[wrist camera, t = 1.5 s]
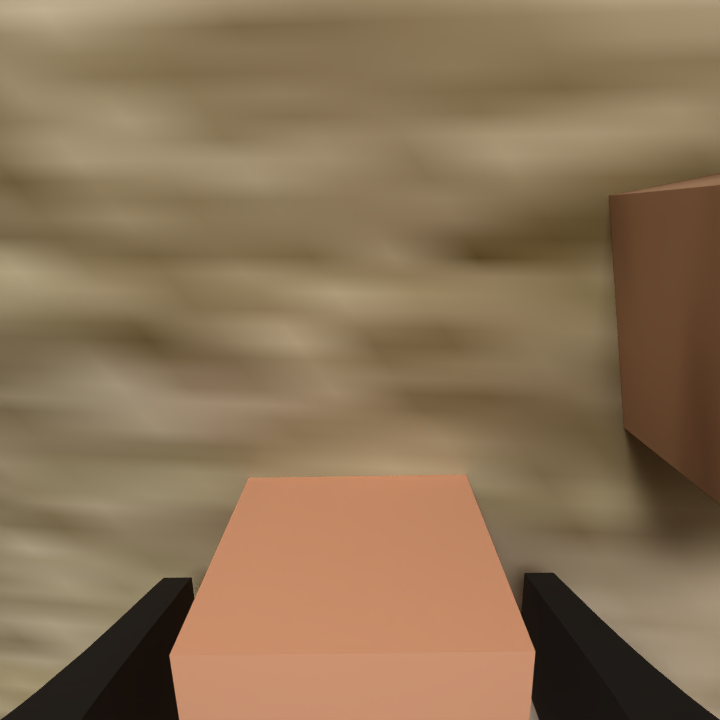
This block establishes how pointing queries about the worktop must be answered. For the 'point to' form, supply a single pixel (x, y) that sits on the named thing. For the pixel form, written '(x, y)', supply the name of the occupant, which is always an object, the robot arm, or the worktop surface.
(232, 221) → the worktop surface
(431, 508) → the terracotta cube
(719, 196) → the walnut cube
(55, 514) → the worktop surface
